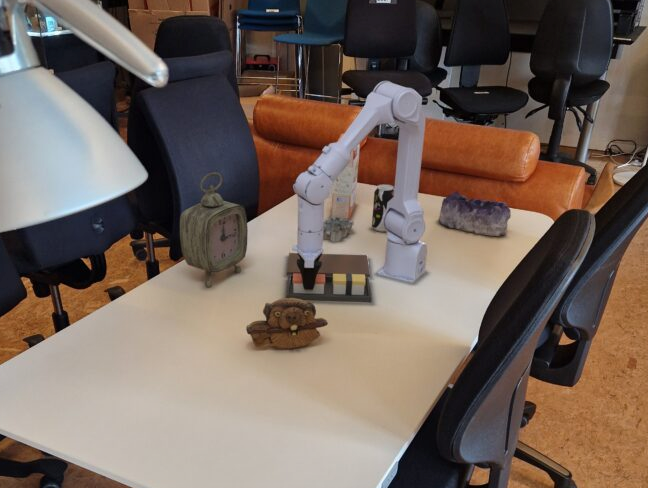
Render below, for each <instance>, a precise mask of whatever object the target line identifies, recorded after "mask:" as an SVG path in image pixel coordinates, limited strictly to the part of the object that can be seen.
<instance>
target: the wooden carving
mask: <svg viewBox="0 0 648 488" xmlns="http://www.w3.org/2000/svg"><path fill="white" fill-rule="evenodd" d="M262 314H263V315H264V317H265V320H254V321H252V322H251V323H249V324H247V325H246V327H245V328H246V333H247V335H250V337H251V339H252V342H253V344H254V347H256V348H261V347H262V348H263V347H264V346H267V345H271V346H272V347H275V348H278V349H294V348H299V347H303V346H306V345H308V344H311V343H312V342H313V341H315V340H317V339H318V338H319V337H320V336H321V334H320V332H319V330H318V329H319V328H324V327H326V326H328V324H329V323H328V320H326V319H325V318H323V317H319V318H318V317H317V318H316V316H317V309H316V306H315V304H314V303H313V301H304V300H301V299H295V298H286V297H284V298H280V299H277V300H275V301H273V302H271V303H269V302H266V303H265V305H264V307H263V310H262Z"/></svg>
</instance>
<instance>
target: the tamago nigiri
mask: <svg viewBox="0 0 648 488" xmlns="http://www.w3.org/2000/svg"><path fill="white" fill-rule="evenodd" d="M365 283H366V281H365V275H364V274H351V273H346V274H333V294H345V295H364V285H365Z"/></svg>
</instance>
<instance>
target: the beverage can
mask: <svg viewBox="0 0 648 488" xmlns="http://www.w3.org/2000/svg"><path fill="white" fill-rule="evenodd" d="M394 187H395V186H394V185H392V184H385V183H384V184H377V186H376V189H375V190H374V192H373V193H374V194H373V205H372V217H371V228H372V229H374V231H376V232H379V233H380V232H381V233H386V232H387V230H386V229H385V228H384V226H383V222H382V221H383V216H384V214H385V212H386V209H387V203H388V201H390V200H391V199H392V198H393V197H394Z"/></svg>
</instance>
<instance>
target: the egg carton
mask: <svg viewBox="0 0 648 488" xmlns="http://www.w3.org/2000/svg"><path fill="white" fill-rule="evenodd" d="M354 224H355V221H354V220H352V221H350V219H345V218H341V217H337V216H335V215H332V216H331V215H330V217H329V218H326V219H325V218H324V224H323V240H325V239H326V240H330V241H331V242H333V243H334V242H340V241H342V238H346V237H347V235H348V234H352V233H353V226H355V225H354Z"/></svg>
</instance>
